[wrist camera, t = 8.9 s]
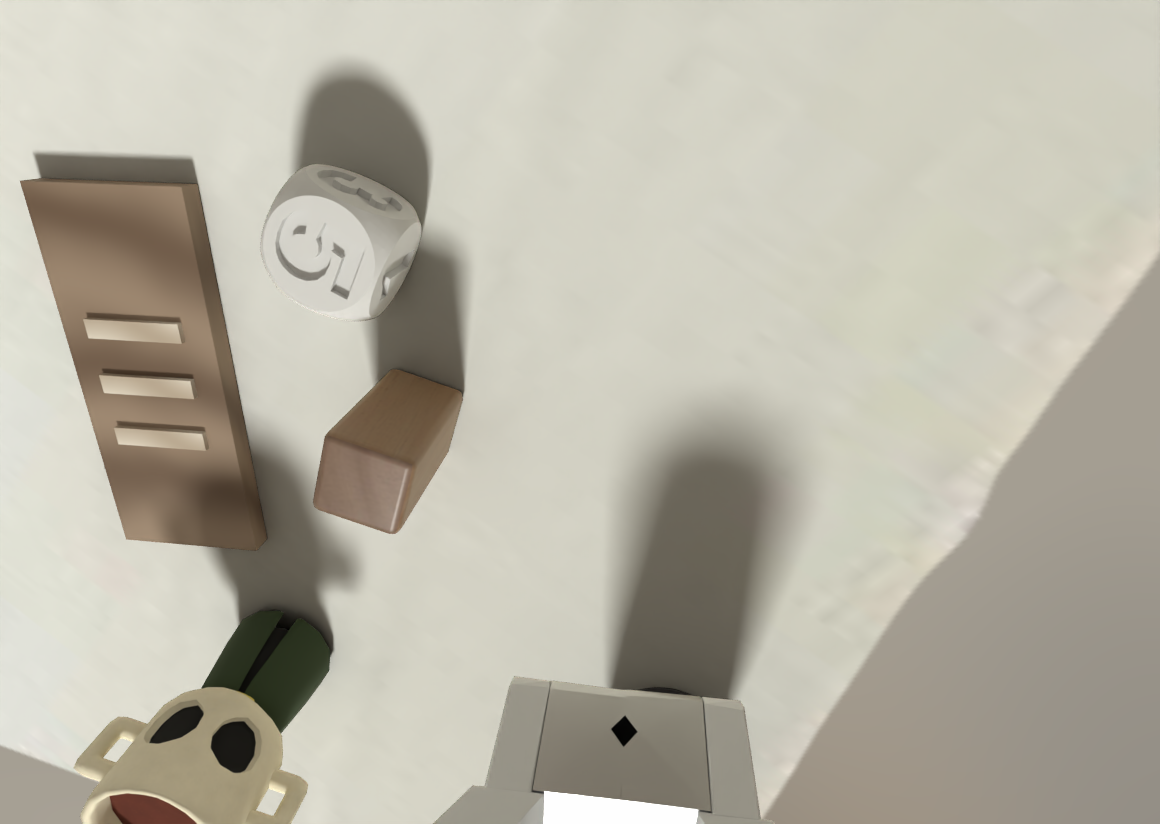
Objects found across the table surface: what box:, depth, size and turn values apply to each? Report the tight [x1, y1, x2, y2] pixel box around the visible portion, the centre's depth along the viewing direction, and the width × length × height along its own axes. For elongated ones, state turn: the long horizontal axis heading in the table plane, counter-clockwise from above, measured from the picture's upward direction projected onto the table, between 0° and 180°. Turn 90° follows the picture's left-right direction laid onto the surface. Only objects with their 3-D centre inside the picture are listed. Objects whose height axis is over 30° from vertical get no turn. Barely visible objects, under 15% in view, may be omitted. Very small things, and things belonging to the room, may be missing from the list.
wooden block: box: [313, 369, 463, 534], centre depth 33 cm, size 4×4×8 cm
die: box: [260, 164, 422, 321], centre depth 31 cm, size 5×5×5 cm
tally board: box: [20, 178, 267, 551], centre depth 37 cm, size 20×8×2 cm, turn 179°
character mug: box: [74, 611, 330, 824], centre depth 38 cm, size 11×7×13 cm, turn 70°
